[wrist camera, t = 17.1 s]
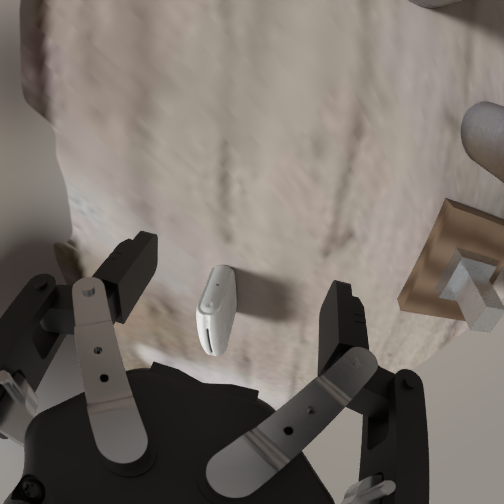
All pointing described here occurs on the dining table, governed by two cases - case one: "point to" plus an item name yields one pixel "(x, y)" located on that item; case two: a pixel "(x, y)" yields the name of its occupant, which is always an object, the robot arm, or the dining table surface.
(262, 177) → the dining table surface
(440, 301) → the walnut plinth
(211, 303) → the photo printer
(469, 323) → the block
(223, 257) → the dining table surface
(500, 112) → the pillar candle
